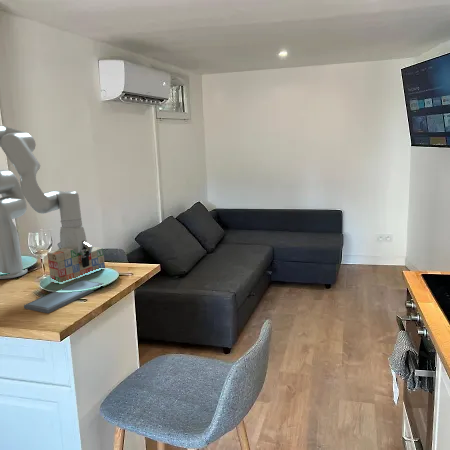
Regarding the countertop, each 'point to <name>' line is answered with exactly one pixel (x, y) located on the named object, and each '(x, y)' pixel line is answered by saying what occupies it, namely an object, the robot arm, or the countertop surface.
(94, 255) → the stack of blocks
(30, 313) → the countertop surface
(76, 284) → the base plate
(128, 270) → the countertop surface
